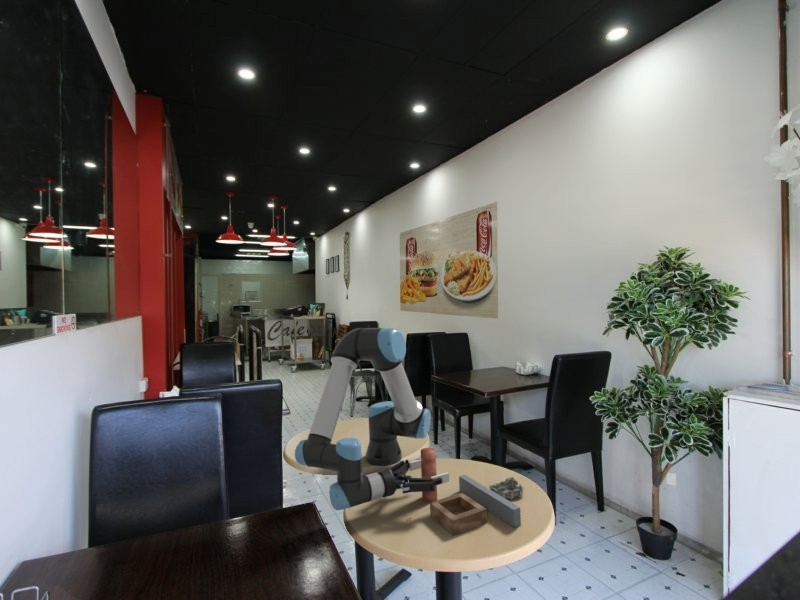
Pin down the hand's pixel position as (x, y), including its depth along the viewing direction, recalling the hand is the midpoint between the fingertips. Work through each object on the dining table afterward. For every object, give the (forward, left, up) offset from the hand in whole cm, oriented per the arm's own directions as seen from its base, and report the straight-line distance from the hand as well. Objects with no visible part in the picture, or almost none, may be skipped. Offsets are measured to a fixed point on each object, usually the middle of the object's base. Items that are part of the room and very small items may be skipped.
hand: (436, 469), depth 134 cm
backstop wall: (+14, +10, -9) cm, 19 cm away
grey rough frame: (+11, +20, -10) cm, 25 cm away
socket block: (+15, -3, -9) cm, 18 cm away
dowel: (0, -3, -9) cm, 10 cm away
